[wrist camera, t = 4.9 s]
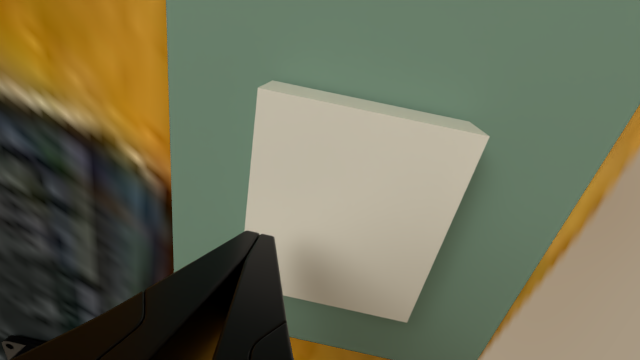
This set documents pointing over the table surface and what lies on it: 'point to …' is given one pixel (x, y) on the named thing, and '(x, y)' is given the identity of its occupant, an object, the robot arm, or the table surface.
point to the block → (355, 194)
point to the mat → (422, 95)
